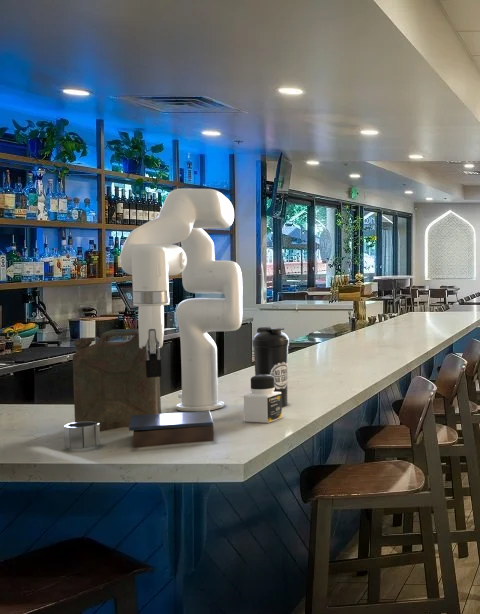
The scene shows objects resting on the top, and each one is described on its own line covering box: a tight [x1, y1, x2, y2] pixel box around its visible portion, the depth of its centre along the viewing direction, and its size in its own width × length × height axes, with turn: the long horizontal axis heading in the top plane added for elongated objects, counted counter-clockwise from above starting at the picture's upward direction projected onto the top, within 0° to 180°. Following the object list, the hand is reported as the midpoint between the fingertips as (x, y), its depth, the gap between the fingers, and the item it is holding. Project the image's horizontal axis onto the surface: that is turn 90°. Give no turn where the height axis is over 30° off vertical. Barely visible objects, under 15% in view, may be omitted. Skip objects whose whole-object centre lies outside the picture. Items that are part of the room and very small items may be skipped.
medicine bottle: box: [243, 375, 283, 424], centre depth 211 cm, size 7×7×12 cm
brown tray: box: [132, 424, 214, 449], centre depth 187 cm, size 17×15×4 cm
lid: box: [128, 410, 214, 432], centre depth 187 cm, size 17×15×1 cm
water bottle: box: [251, 326, 290, 408], centre depth 230 cm, size 10×10×23 cm
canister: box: [72, 328, 162, 432], centre depth 200 cm, size 19×8×25 cm, turn 106°
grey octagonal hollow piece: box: [63, 421, 101, 449], centre depth 179 cm, size 7×7×6 cm
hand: (154, 376), depth 185 cm, fingers closed
